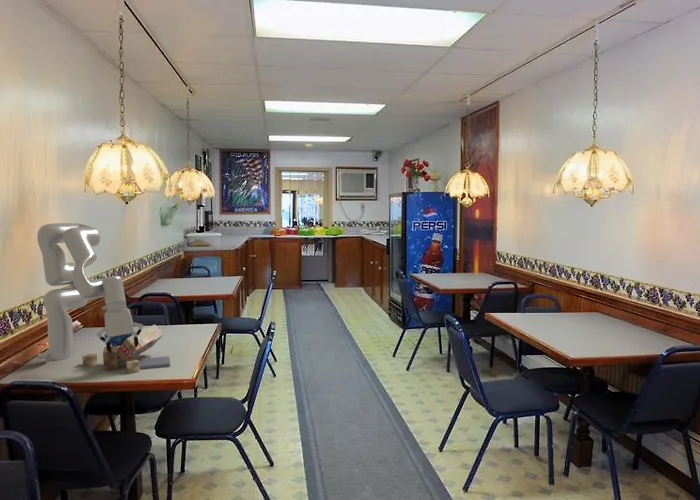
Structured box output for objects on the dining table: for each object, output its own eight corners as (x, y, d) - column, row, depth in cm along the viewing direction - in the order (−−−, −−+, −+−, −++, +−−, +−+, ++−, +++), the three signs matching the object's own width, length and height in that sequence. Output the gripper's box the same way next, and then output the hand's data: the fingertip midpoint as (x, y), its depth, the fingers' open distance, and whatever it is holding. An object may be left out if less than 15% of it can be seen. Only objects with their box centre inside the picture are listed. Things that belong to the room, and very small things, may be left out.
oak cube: (82, 366, 223) (82, 356, 223) (87, 363, 227) (87, 354, 227) (92, 366, 223) (91, 356, 223) (97, 363, 227) (96, 354, 227)
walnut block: (104, 371, 216) (102, 352, 214) (105, 364, 221) (104, 347, 218) (117, 369, 218) (116, 351, 215) (118, 363, 222) (117, 346, 220)
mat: (138, 369, 218) (138, 366, 218) (139, 361, 229) (139, 358, 229) (170, 366, 222) (169, 363, 222) (169, 359, 233) (169, 356, 233)
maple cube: (129, 373, 212) (128, 363, 212) (126, 371, 216) (126, 361, 215) (139, 371, 215) (139, 362, 214) (137, 369, 218) (136, 359, 218)
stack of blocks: (143, 336, 242) (158, 320, 238) (152, 346, 242) (168, 330, 238) (110, 355, 222) (127, 338, 218) (120, 366, 222) (137, 349, 218)
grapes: (127, 345, 234) (143, 329, 230) (123, 356, 229) (139, 340, 225) (103, 332, 229) (118, 315, 225) (98, 343, 224) (114, 326, 220)
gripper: (91, 311, 210) (98, 355, 209) (139, 303, 216) (146, 345, 215) (94, 311, 217) (100, 353, 216) (139, 303, 223) (146, 344, 222)
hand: (123, 349), depth 216 cm, fingers open, 9 cm apart
